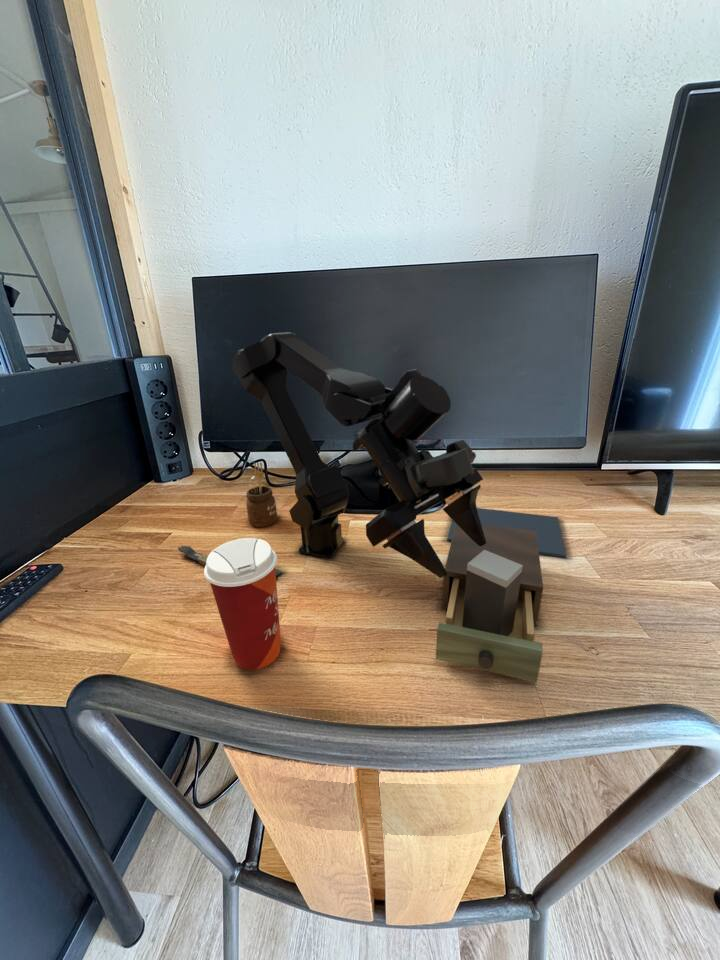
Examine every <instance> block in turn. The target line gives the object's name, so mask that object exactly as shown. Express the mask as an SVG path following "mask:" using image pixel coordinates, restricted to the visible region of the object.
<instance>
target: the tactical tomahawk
mask: <svg viewBox="0 0 720 960" xmlns="http://www.w3.org/2000/svg"><path fill="white" fill-rule="evenodd" d="M177 549H178V551H179V552H180V553H183V554H184V555H185V556H187V557H188V559H191V560H193V561H196V562H198V563H199V564H201V565H203V566H206V561H207V557H208V556H209V555H202V554H200V553H197V551H195V550H194V548H192V546H190V545H181V546H178V547H177ZM275 573H276V577H278V576H279V575H281V574H283V570H280V569H278V568H275Z"/></svg>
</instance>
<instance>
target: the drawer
mask: <svg viewBox="0 0 720 960" xmlns="http://www.w3.org/2000/svg"><path fill="white" fill-rule="evenodd" d="M465 587H466V579H462V578H456V577H454V579H453V584H452V589H451V594H450V599H449V604H448V609H446V610H447V611H446V614H445V622H441V621H440V622H439V621H438V623H437V627H436V641H435V642H436V644H435V660H436V661H437V660H438V661H442V662H446V663H451V664H455V665H459V666H462V667H463V666H464V667H467V668H472V669H476V670H480V671H485V672H490V673H493V674H498V675H502V676H506V677H510V678H514V679H519V680H523V681H527V682H531V683H538V680H539V679H538V678H539V674H540V669H541V663H542V660H543V659H542V658H543V655H544V654H543V653H544V648H543V647H544V646H543V643H542V642H537V641H534V639H535V626H534V623H533V610H532V597H531V590H528V589H522V588H519V594H518V601H517V607H516V614H515V620H514V627H513V631H512V632H511V633H510V635H509V636H503V635H498V634H494V633H489V632H484V631H479V630H474V629H469V628H464V627H462V623H463V611H464V599H465Z"/></svg>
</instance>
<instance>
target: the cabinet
mask: <svg viewBox="0 0 720 960" xmlns="http://www.w3.org/2000/svg"><path fill="white" fill-rule="evenodd" d="M481 525H482V529H483V532H484V536H485V539H486V544H485V545H483V546H479V545H478V544H476V543H475V542H474V541H473V540H472V539H471V538H470V537H469V536H468V535H467V534H466V533H465V532H464V531H463V530H462V529H461V528H460V527H459V526H458V525H457V524H455V529H454V533H453V537H452V541H451V542H450V546H449V551H448V554H447V558H446V562H445V566H444V568H445V570H446V572H447V575H446V576H444V577H443V587H442V588H443V590H442V605H441V608H442V610H443V609H444V610H447V609H448V604H449V599H450V594H451V589H452V584H453V579H454V577H456V578H462V579H466V575H467V564H468V563H469V562H470V561H471V560H472V559H474V558H475V557H476V556H477V555H478V554H480V553H481V552H482V551H483V550H486V551H489V552H491V553H494V554H496V555H499V556H501V557H503V558H506V559H508V560H511V561H513V562H516V563H518V564H521V565H523V567H522V574H521V581H520V587H519V588H522V589H528V590H531V597H532V610H533V623H534V627H537V623H538V619H539V614H540V613H539V612H540V608H541V602H542V597H543V590H544V583H543V582H544V581H543V576H542V575H543V574H542V567H541V559H540V554H539V549H538V541H537V533H536V531H531V530H523V529H515V528H507V527H499V526H491V525H483V524H481Z"/></svg>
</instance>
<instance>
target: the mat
mask: <svg viewBox="0 0 720 960" xmlns="http://www.w3.org/2000/svg"><path fill="white" fill-rule="evenodd" d="M477 511H478V515H479V519H480V522H481V524H483V525H491V526H499V527H507V528H515V529H523V530H531V531H536V533H537V541H538V549H539V556H540V555H541V556H547V557H554V558H555V557H556V558H561V559H562V558H563V559H566V558H567V552H566V549H565V544H564V543H565V542H564V540H563V539H564V538H563V535H562V530H561V526H560V522H559V518H558V516H550V515H541V514H535V513H534V514H533V513H524V512H515V511H506V510H499V509H498V510H497V509H488V508H481V507H477ZM455 524H456V523H455V522H454V521H453V520H452V519H451V523H450V527H449V531H448V534H447V538H446V541H447V542H449V543H451V541H452V537H453V533H454V529H455Z"/></svg>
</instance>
